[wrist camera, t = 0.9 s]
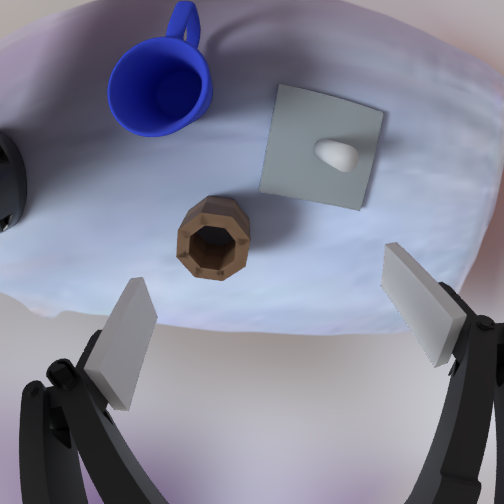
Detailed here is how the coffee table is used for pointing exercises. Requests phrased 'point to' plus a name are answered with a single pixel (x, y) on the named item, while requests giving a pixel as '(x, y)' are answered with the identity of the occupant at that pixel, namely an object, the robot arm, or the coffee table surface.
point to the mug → (162, 79)
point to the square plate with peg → (319, 148)
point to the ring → (211, 255)
